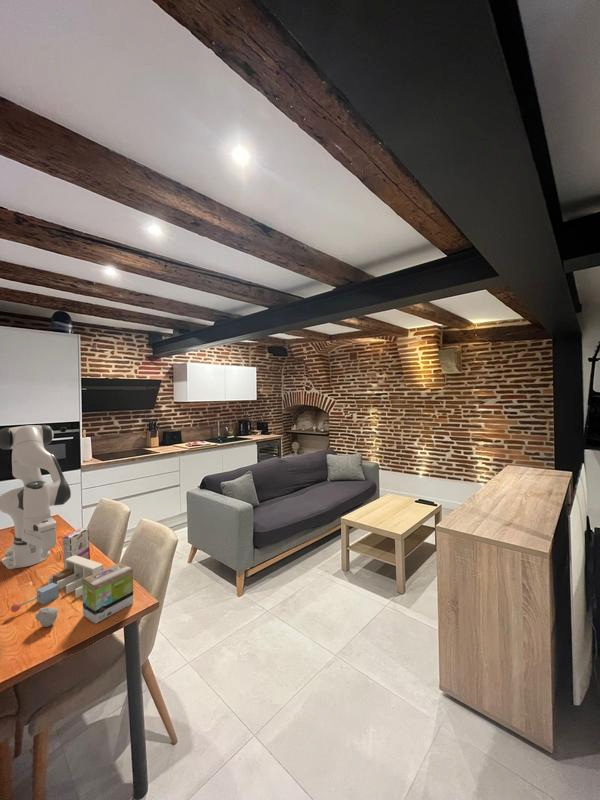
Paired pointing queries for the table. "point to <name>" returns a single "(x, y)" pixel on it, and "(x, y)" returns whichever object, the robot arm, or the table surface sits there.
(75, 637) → the table surface
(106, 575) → the tea box
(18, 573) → the table surface
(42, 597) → the tethered block
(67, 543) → the candy bar box
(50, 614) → the grey rounded lump
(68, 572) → the walnut block
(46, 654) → the table surface
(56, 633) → the table surface
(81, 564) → the lane shelf
